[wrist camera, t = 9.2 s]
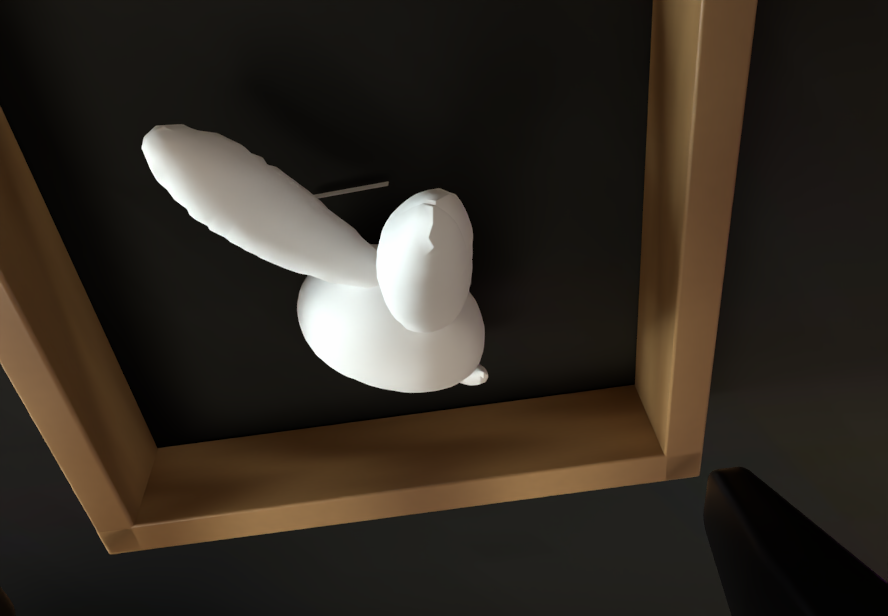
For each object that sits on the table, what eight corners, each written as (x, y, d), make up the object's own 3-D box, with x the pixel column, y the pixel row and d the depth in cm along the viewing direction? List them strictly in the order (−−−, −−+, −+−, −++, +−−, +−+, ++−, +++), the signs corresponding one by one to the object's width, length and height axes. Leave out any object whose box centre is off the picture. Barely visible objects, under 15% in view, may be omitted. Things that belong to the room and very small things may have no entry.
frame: (135, 475, 20) (108, 556, 18) (-135, -67, 13) (-232, -34, 11) (666, 404, 20) (700, 477, 18) (714, -180, 13) (780, -169, 11)
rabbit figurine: (289, 380, 19) (67, 201, 12) (358, 244, 20) (193, 8, 13) (516, 463, 16) (406, 303, 9) (578, 304, 18) (521, 57, 11)
